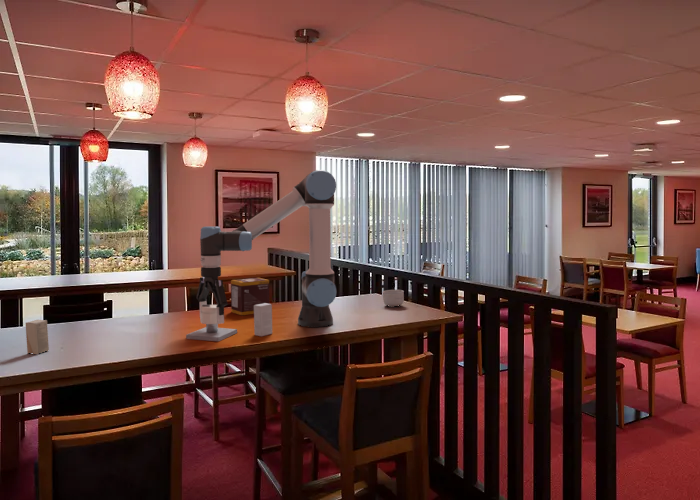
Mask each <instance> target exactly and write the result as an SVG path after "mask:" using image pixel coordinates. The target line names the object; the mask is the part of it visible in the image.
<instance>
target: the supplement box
mask: <svg viewBox="0 0 700 500" xmlns="http://www.w3.org/2000/svg"><path fill="white" fill-rule="evenodd" d="M230 301H231V303H230V306H231V307H230V309H231V310H230V311H231V313H233V314H237V315H238V316H239V315H240V316H246V315H247V316H248V315H254V305H257V304H263V303H268V304H270V279H265V278H261V277H252V278H250V277H249V278H243V279H242V278H241V279H232V280H230Z"/></svg>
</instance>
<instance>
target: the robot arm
mask: <svg viewBox="0 0 700 500" xmlns="http://www.w3.org/2000/svg"><path fill="white" fill-rule="evenodd" d="M336 189H337V182H336V179H335V177H334V176H333V175H332V173H331V172H329V171H327V170H324V169H316V170H313V171H311V172H310V173H309V174H307V175H306V176H305V177H304V178H303V179H302V180H301V181H300V182H299V183H297V184H296V185H295V186H293V187H292V191H290V192H289V193H287V194H286V195H284V196H283V197H282V198H280V199H279V200H277V201H275V202H274V203H273V204H271V205H269V206H268V207H267V208H265V209H264V210H262V211H260V212H259V213H258V214H256V215H254V216H253V217H251V218H250V219H249V220H248V221H246V222H244V223H243V224H242V225H239V227H237V228H235V229H233V230H231V231H222V230H221V227H220V226H203V227H201V228H200V234H199V235H200V238H199V241H200V242H199V244H200V245H199V247H200V259H199V260H200V266H201V268H200V276H201V277H199V283H198V288H197V292H196V298H195V299H196V300H197V301H198V302H199V313H200V312H201V306H202V305H208V304H207V301H208V299H207V297H208V296H209V293H210V292H211V293H212V295H213V297H214V299H215V302H216V305H217V306H216V307H217V324H218V325H219V324H220V325H221V324H225V307H226V306H228V303H229V302H228V299H227V297H226V296H227V295H226V292H225V288H224V280H223V279H220V280H219V277H221V276H222V267H221V265H222V257H221V256H222V255H221V252H229V251H230V252H238V251H239V252H245V251H246V252H247V251H251V250H252V247H253V243H252V242H253V240H254V239H256V238H258V236H261V235H262V234H263V233H265V232H266V231H268V230H269V229H271V228H273V227H274V226H275V225H277V224H278V223H280V222H281V221H282V220H284V219H285V218H287V217H288V216H290V215H291V214H293V213H294V212H296V211H297V210H299V209H300V208H301V207H307V208H308V238H309V239H308V243H309V244H308V247H309V248H308V251H309V253H308V256H309V257H308V262H309V263H308V264H309V265H308V267H309V268H308V269H307V270H305V271H302V273H301V277H300V278H301V279H300V280H301V307H300V311H299V314H298V318H297V324H298V326H300V325H301V327H305V326H309V327H308V328H319V327H318V326H325V327H329V326H332V325H333V324H334V319H333V314H332V312H331V308H330V305H331V304H332V303H333V302H334V300H336V297H337V286H336V284H335V271H334V270H333V269H332V268H331V263H332V262H331V254H332V252H331V243H332V242H331V233H332V232H331V209H332V207H333V206H335V193H336ZM331 324H332V325H331ZM328 325H329V326H328Z"/></svg>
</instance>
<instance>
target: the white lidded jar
mask: <svg viewBox="0 0 700 500" xmlns="http://www.w3.org/2000/svg"><path fill="white" fill-rule="evenodd" d="M216 306H217V304H207V305H202V306H201V312H200V311H199V318H200V321H199V322H200V323H201V324H202V325H206V324H217V307H216Z"/></svg>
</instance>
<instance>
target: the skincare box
mask: <svg viewBox="0 0 700 500" xmlns="http://www.w3.org/2000/svg"><path fill="white" fill-rule="evenodd" d="M253 324H254V325H253V328H254V336H257V337H258V336H259V337H264V336H268V335H272V334H273V305H272V304H271V303H269V304H268V303H263V304H257V305H254V314H253Z"/></svg>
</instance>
